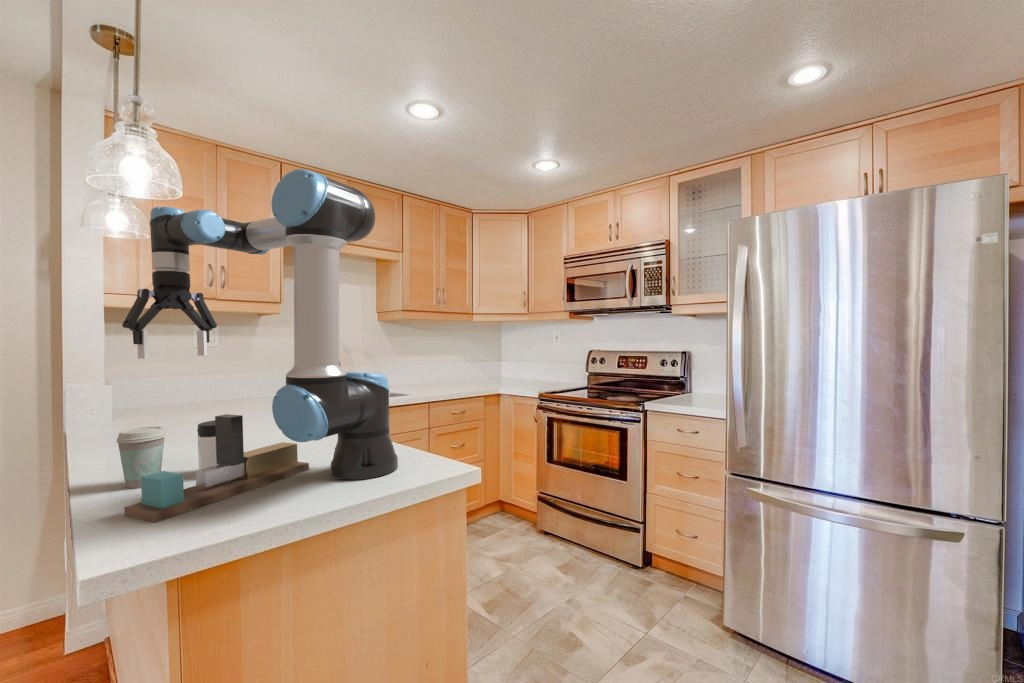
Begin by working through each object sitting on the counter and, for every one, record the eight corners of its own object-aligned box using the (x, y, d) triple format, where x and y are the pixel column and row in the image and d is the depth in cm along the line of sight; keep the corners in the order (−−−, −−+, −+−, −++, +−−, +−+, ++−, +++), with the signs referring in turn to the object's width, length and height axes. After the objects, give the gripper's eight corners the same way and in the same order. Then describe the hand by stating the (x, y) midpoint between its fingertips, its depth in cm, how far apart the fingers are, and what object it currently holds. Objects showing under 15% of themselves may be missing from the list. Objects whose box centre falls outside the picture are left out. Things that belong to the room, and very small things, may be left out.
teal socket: (164, 497, 86) (163, 470, 86) (183, 501, 84) (183, 474, 84) (142, 504, 83) (141, 476, 83) (161, 508, 81) (160, 480, 80)
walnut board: (282, 465, 112) (282, 459, 112) (309, 469, 108) (308, 462, 108) (124, 515, 82) (124, 507, 82) (154, 522, 78) (154, 514, 78)
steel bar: (279, 459, 109) (278, 405, 109) (294, 461, 107) (293, 406, 107) (193, 484, 91) (191, 420, 90) (209, 487, 89) (207, 421, 89)
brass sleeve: (283, 461, 110) (282, 442, 110) (297, 463, 108) (297, 443, 108) (233, 477, 98) (232, 455, 98) (248, 479, 96) (247, 457, 96)
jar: (225, 466, 113) (223, 418, 112) (249, 468, 110) (247, 419, 110) (188, 476, 104) (187, 425, 104) (213, 480, 101) (212, 426, 101)
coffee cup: (126, 493, 94) (124, 435, 94) (111, 486, 98) (109, 431, 98) (174, 481, 101) (173, 428, 101) (158, 475, 106) (156, 424, 105)
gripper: (212, 278, 125) (214, 354, 126) (101, 266, 102) (104, 359, 103) (230, 276, 122) (232, 354, 123) (119, 263, 99) (123, 359, 100)
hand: (174, 357), depth 113 cm, fingers open, 13 cm apart
